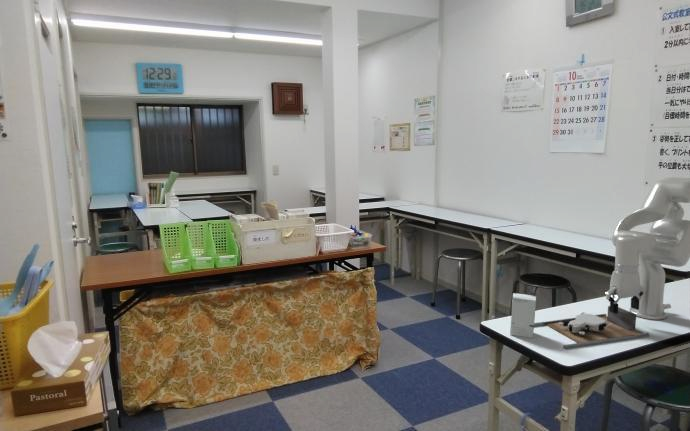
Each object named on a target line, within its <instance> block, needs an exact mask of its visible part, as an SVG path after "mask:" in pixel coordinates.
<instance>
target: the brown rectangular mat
mask: <svg viewBox="0 0 690 431" xmlns="http://www.w3.org/2000/svg"><path fill="white" fill-rule="evenodd" d="M600 318H602V319H604V320H605V321H606V322H607V326H608V325H609V324H610V323H612V324H611V325H610V326H608V327H607V328H606V329H604V330H601V331H599V332H596V331H591V330H587V333H586V335H582V334H577V333H574V332H572V331H569V330H568V326H563V325H559V324H558V323H551V324H547V325H546V326H547V327H548V328H550V329H552V330H554V331H556V332H557V333H559V334H561V335H562V336H564V337H565V338H568V339H570V340H571V341H573V342H575V343H582V342H589V341H595V340H602V339H609V338H616V337H622V336H629V335H636V334H643V333H644V332H642V331H640V330H638V329H636V324H637V316H636V314H634V313H631V312H630V311H629V310H626V309H624V308H622V307H620V306H618V314H615V313H613V312H611V311H610V305H608V306H607V314H606V316H603V317H600Z"/></svg>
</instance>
